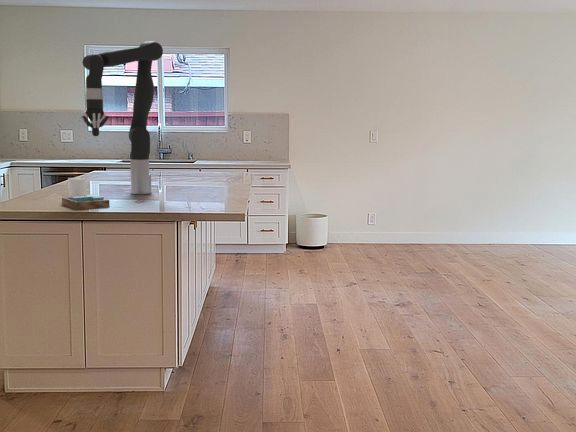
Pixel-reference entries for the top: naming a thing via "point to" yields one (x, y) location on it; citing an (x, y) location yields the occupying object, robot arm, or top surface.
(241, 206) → the top surface
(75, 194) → the white cup
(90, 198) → the teal T-block
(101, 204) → the walnut dock
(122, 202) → the top surface
